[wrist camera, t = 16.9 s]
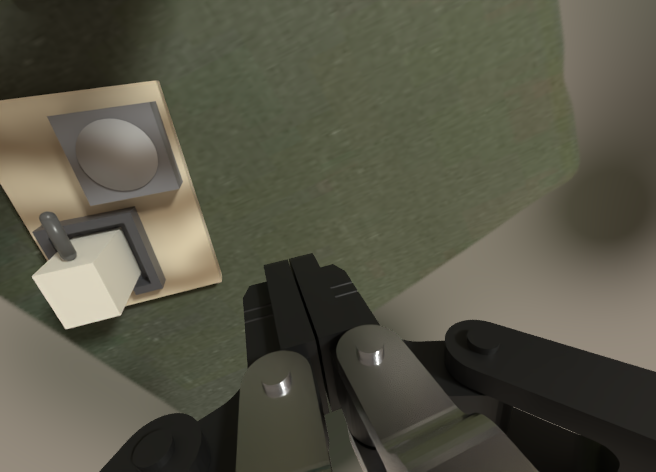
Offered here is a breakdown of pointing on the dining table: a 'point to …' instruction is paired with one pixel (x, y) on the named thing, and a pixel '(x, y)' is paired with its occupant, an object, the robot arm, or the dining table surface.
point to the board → (108, 172)
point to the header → (134, 235)
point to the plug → (86, 274)
